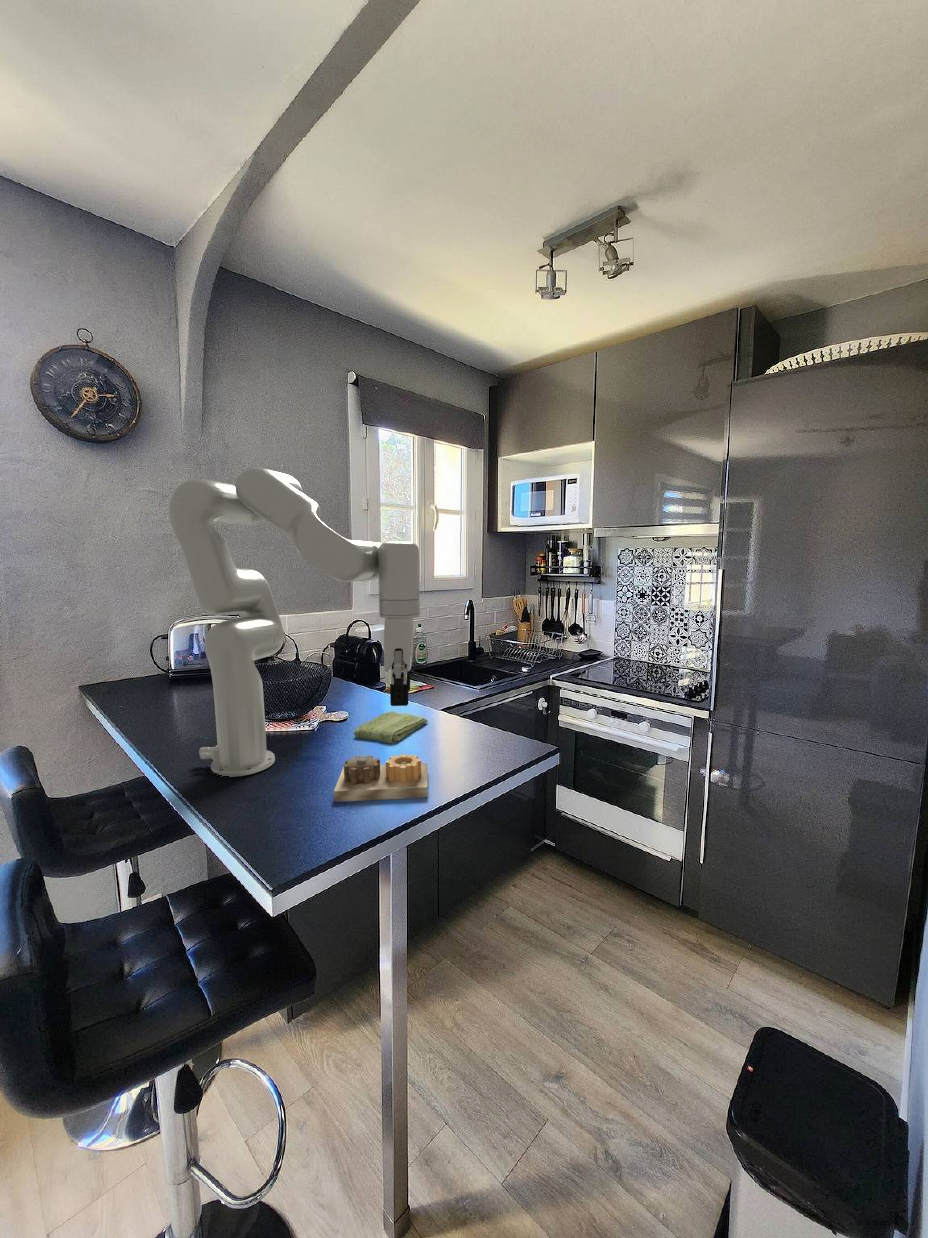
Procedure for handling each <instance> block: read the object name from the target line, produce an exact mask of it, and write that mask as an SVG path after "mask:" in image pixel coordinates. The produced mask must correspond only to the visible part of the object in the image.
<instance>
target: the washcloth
mask: <svg viewBox="0 0 928 1238" xmlns="http://www.w3.org/2000/svg"><path fill="white" fill-rule="evenodd" d="M428 721H429V720H428V719H427V718H425V717H423V716H419V715H414V714H410V713H398V712H397V711H393V710H392V711H391V710H390V711H388V712H384V713H382V714H379V715H378V716H376V717H374V718H372V719H371V720H369V721H367V722H364V723H362V724H360V725H358V726H357V728H356V729H355V730H354V732H353V735H354V737H355V738H357V739H365V740H369V741H372V740H374V741H379V742H381V743H387V744H396V743H398V742H399V741H401V740H403V739H405V738H406V737H408V736H410V735H411V734H412V733H413V732H415V731H417V730H418V729H420V727H422V726H424V725H425V724H427V723H428Z"/></svg>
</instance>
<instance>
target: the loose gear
mask: <svg viewBox="0 0 928 1238" xmlns="http://www.w3.org/2000/svg"><path fill="white" fill-rule="evenodd" d="M402 762H407V763H408V764H400V763H402ZM421 763H422V758H419V756H418V755H416V754H413V755H409V754H407V753H402V754H400V755H396V756H395V755H392V756H389V760H385V765H386V777H389V781H390V782H394V781H396V782H401V783H406V782H408V781H416V780H418V776H421Z"/></svg>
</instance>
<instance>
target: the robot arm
mask: <svg viewBox="0 0 928 1238" xmlns="http://www.w3.org/2000/svg"><path fill="white" fill-rule="evenodd" d="M321 510H322V509H321V506H320V505H319V504H318V503H317V502H316V501H315V500H313V499H312V498H310V497H309V496H307V495H306V494H305V493H304V490H303V488H302V486H301V484H300V482H299V481H298V480H297V479H296V478H295V477H293V476H291V475H290V474H287V473H284V472H280V471H277V470H272V469H269V468H265V467H257V466H256V467H250V468H249V467H248V468H247V469H245V470H243V471H242V472H241V473H239V475H238V476H237V477H236V480H235V482H234V484H233V483H232V484H231V483H226V482H222V481H218V480H212V479H202V478H201V479H199V478H198V479H189V480H186V481H184V482H182V483H181V484H179V485H178V486H177V487H176V489H175V490H174V492H172V495H171V497H170V501H169V506H168V514H169V521H170V525H171V528H172V530H173V534H174V535H175V537H176V538H175V539H176V540H177V541H178V543H179V546H180V548H181V550H182V552H183V555H184V558H185V561H186V565H187V569H188V572H189V575H190V578H191V581H192V584H193V588H194V590H195V594H196V597H197V600H198V602H199V605H200V606H201V608H202V609H203V611H204V612H206V613H208V614H210V615H213V616H214V615H215V616H217V615H220V616H221V615H231V614H236V613H238V614H239V616H240V617H239V618H238V617H237V618H232V619H227V620H223V621H221V622H218V623H216V624H215V625H213V626H212V627H210V629H209V630H208V631H207V633H206V635H205V637H204V651H205V654H206V655H205V656H206V658H207V661H208V665H209V669H210V675H211V679H212V687H213V688H212V689H213V700H214V714H215V728H216V740H217V741H216V743H217V744H216V745H215V746H211V747H210V746H201V747H200V748H199V750H198V756H200V757H199V758H200V760H212V762H211V765H210V771H211V770H212V771H213V772H214V773H217V774H219V775H222V776H221V777H223V776H229V777H228V778H235V777H244V776H249V775H254V774H256V773H259V772H261V771H262V772H263V771H265V770H266V769H268V768H270V767H272V765H274V763H275V761H276V755H275V753H273V751H271V750H268V749H267V735H266V732H267V731H266V720H265V719H266V717H265V716H266V715H265V701H264V688H263V687H264V685H263V679H262V677H261V674H260V672H259V670H258V668H257V667H256V664H255V661H257V660H261V659H264V658H267V657H270V656H272V655H274V654H276V653H278V651H280V649H281V648H282V647H283V644H284V638H285V634H284V633H285V632H284V628H283V623H282V620H281V617H280V613H279V611H278V607H277V605H276V601H275V597H274V594H273V592H272V589H271V586H270V584H269V582H268V580H267V579H266V577H264V576H263V574H261V573H260V572H259V571H257V570H255V569H252V568H237V566H236V565H235V563H234V561H233V557H232V554H231V551H230V548H229V545H228V543H227V541H226V540H225V539H224V538H223V537H224V536H222V535H221V534H220V533H219V532H218V531H217V529H216V528H215V526H214V525H215V524H221V525H231V526H249V525H254V524H258V523H262V522H268V523H269V524H270V525H272V526H273V527H274V528H276V529H277V530H279V531H280V532H281V533H283V534H284V535H286V536H287V537H289V539H290V541H291V544H292V545H293V546H294V548H295V550H296V552H297V553H298V554H299V555H300V556H301V557H302V558H303V559H304V560H306V562H307V563H309V564H310V565H312V566H314V568H316V569H318V570H319V571H320V572H322V573H323V574H325V575H326V576H328V577H330V578H332V579H334V580H335V581H338V582H341V583H353V582H368V581H373V580H378V612H379V613H378V617H379V618H383V619H384V623H383V624H384V626H383V671H385V672H386V673H387V672H389V671H390V670H391V671H390V683H389V688H390V689H389V694H390V695H389V698H390V706H391V707H403V706H404V707H406V706H408V705H409V692H410V691H411V668H412V662H413V656H414V655H413V654H414V619H415V618H418V617H420V616H421V614H420V613H421V611H420V610H421V609H420V605H421V603H420V600H421V599H420V549H419V546H418V545H417V544H416V543H415V542H413V541H384V542H382V543H381V542H377V541H376V542H375V541H369V540H359V539H358V540H356V539H348V538H345V537H344V536H342V535H341V534H339V533H338V532H336V531H335V530H334V529H332V528H330V527H329V526H328V525H326V524H325V523H324V522H323V521H321V517H322V515H321V514H322V511H321ZM212 771H211V772H212ZM214 773H213V774H214Z"/></svg>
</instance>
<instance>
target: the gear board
mask: <svg viewBox="0 0 928 1238" xmlns="http://www.w3.org/2000/svg"><path fill="white" fill-rule="evenodd" d="M400 764H408V763H407V762H402V763H400ZM428 771H429V770H428V763H427V762H425V763H422V762H421V776H418V780H416V781H408V782H406V783H401V782H396V781H394V782H390V781H389V777H386V764H381V759H380V758H379V757H378V758H375V757H374V756H373V755H367V756H361V755H357V756H354V757H353V758H351V759H347V760H345V761H344V764H343V767H342V769H341V773H340V775H339V777H338V780H337V782H336V785H335V786H334V789H333V802H335V803H338V802H339V803H341V802H358V801H359V802H361V801H381V800H384V801H385V800H402V799H403V800H406V799H407V800H408V799H422V798H423V799H425V797H428V786H429V785H428V783H429V780H428V775H429V774H428V773H429V772H428ZM428 798H429V797H428Z"/></svg>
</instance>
